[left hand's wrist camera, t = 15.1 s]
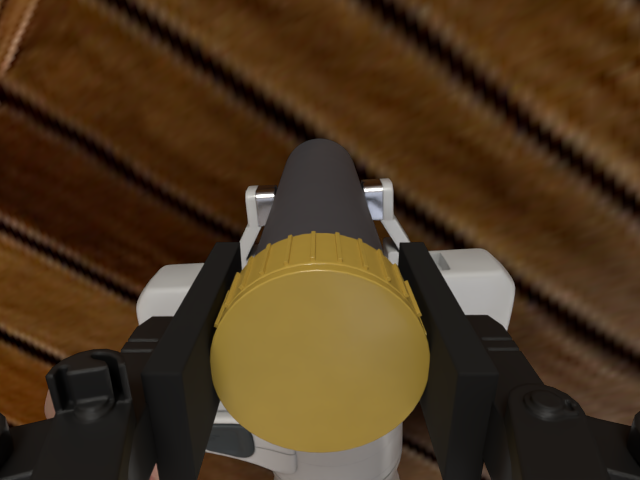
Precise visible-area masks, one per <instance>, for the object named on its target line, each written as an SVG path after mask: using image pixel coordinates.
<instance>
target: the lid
mask: <svg viewBox="0 0 640 480" xmlns="http://www.w3.org/2000/svg"><path fill="white" fill-rule="evenodd" d="M420 316H422V314H421V312H420V309H419V307H418V304H417V302H416V300H415V297H414V295H413V292H412V290H411V287H410V285H409V283H408V280H406V281H404V280H403V278H402V276H401V273H400V270H399V268H398V265H397V264H396V263H395V264H392V263H391V262H390V261H389V260H388V259H387V258H386V257H385V256H384V255H383V253H382V250H380V249H378V250H376V249H374V248H373V247H371V246H369V245H368V244H366V243H363V242H362V239H360V238H358V240H356V239H353V238H350V237H346V236H343V235H340V233H338V232H335V234H330V233H316V231H311V234H302V235H298V236H292V235H289V236H288V238H287V239H284V240H281V241H278V242H276V243H275V244H273V245H271V244H270V243H269V244H267V246H266V248H265V249H264V250H263V251H261V252H260V253H258V254H257V255H256V256H255V257H254V258H253V257H252V256H251V257H250V258H249V260H248V262H247V265H246V266H245V267H244V268H243V270H242V271H241V272H240V273H239V272H237V273H236V275H235V277H234V280H233V282H232V285H231V287H230V290H228V292H227V294H226V297H225V299H224V302H223V304H222V307H221V309H220V312H219V314H218V317H217V319H216V321H215V324H214V327H216V331H215V333H214V336H213V340H212V344H211V348H210V366H211V376H212V382H213V385H214V388H215V390H216V393H217V395H218V397H219V399H220V401H221V402H222V404H223V406H224V407H225V408H226V410H227V411H228V412H229V414H230V415H231V416H232V417H233V418H234V419H235V420H236V421H237V422H238V423H239V424H240V425H241V426H243V427H244V428H245V429H246V430H248V431H249V432H251V433H252V434H254V435H256V436H257V437H259V438H261V439H263V440H265V441H267V442H269V443H271V444H274V445H277V446H280V447H283V448H287V449H291V450H295V451H302V452H310V453H328V452H338V451H344V450H349V449H353V448H356V447H360V446H363V445H366V444H368V443H370V442H373V441H375V440H377V439H379V438H381V437H383V436H384V435H386V434H387V433H389V432H390V431H392V430H393V429H395V428H396V427H397V426H398V425H399V424H401V423H402V422H403V421H404V420H405V419H406V418H407V417H408V416H409V414H410V413H411V412H412V411H413V410H414V408H415V407H416V405H417V404H418V402H419V401H420V399H421V396H422V394H423V392H424V390H425V387H426V384H427V381H428V372H429V363H430V350H429V344H428V340H427V337H426V334H427V333H426V331H425V328H424V326H423V323H422V321H421V318H420Z"/></svg>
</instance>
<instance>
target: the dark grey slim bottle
mask: <svg viewBox="0 0 640 480" xmlns="http://www.w3.org/2000/svg"><path fill="white" fill-rule="evenodd" d="M311 231H316V233H330V234H335V232H338V233H340V235H343V236H346V237H350V238H353V239H356V240H358V238H360V239H362V242H363V243H366V244H368V245H369V246H371V247H373V248H374V249H376V250H378V249H380V250H382V253H383V255H384V256H385V254H384V251H383V248H382V246H381V243H380V240H379V237H378V234H377V231H376V228H375V225H374V222H373V219H372V216H371V213H370V210H369V207H368V205H367V202H366V199H365V196H364V193H363V190H362V187H361V184H360V181H359V178H358V175H357V172H356V169H355V166H354V164H353V161H352V158H351V157H350V155H349V153H348V152H347V151H346V150H345V149H344V148H343V147H342V146H341V145H339V144H338V143H336V142H333V141H331V140H327V139H312V140H309V141H306V142H304V143H302V144H300V145H299V146H298V147H296V148H295V149H294V150H293V152H292V153H291V154H290V156H289V158H288V160H287V162H286V165H285V168H284V171H283V174H282V177H281V180H280V183H279V186H278V189H277V192H276V195H275V198H274V201H273V203H272V206H271V209H270V212H269V215H268V218H267V221H266V224H265V227H264V230H263V233H262V236H261V239H260V242H259V245H258V248H257V251H256V254H255V256H256V255H257V254H258V253H260V252H261V251H263V250H264V249H265V248H266V246H267V244H269V243H270V244H271V245H273V244H275V243H276V242H278V241H281V240H284V239H287V238H288V236H289V235H292V236H298V235H302V234H311Z"/></svg>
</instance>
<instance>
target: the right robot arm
mask: <svg viewBox="0 0 640 480" xmlns="http://www.w3.org/2000/svg"><path fill="white" fill-rule="evenodd" d="M361 187H362V190H363V193H364V196H365V199H366V202H367V205H368V207H369V210H370V213H371V216H372V219H373V220H381V222H382V224H383V225H384V227H385V229H386V230H387V232H388V233H389V235H390V236H391V237H385V238H384V239H383V251H384V254H385V257H386V258H387V259H388V260H389V261H390V262H391V263H392V264H395V263H396V264H397V265H398V258H399V244H400V242H410V240H409V238H408V236H407V234H406V233H405V231H404V230H403V228H402V226H401V225H400V223H399V222H398V220H397V218H396V217H395V215H394V213H393V186H392V182H391V181H390V179H389V178H385V179H369V180H361ZM276 192H277V185H265V186H249V187H248V189H247V191H246V208H247V217H248V225H247V227H246V229H245V231H244V233H243V236H242V238H241V240H240V248H241V262H242V270H243V268H244V267H245V266H246V265H247V262H248V260H249V258H250V257H251V256H252V257H253V258H254V257H255V254H256V251H257V248H258V245H259V244H254V241H255V239H256V237H257V235H258V233H259V231H260V229H261V226H265V224H266V221H267V218H268V215H269V212H270V209H271V206H272V203H273V201H274V198H275V195H276ZM253 244H254V245H253ZM429 253H430V255H431V257H432V258H433V260H434V262H435V264H436V265H437V267H438V269H439V270H440V272H441V274H442V276H443V277H444V279H445V281H446V283H447V284H448V286H449V288H450V289H451V291H452V293H453V295H454V296H455V298H456V300H457V302H458V303H459V305H460V307H461V308H462V310H463V312H464V314H465V315H489V316H490V317H491V318H493V319H494V320H496V321H497V322H499V323H500V324H501V325H503V326H504V328H505V329H506V331H507V329H508V325H509V322H510V317H511V313H512V308H513V302H514V296H515V285H514V282H513V279H512V277H511V276H510V275H509V273H508V272H507V270H506V269H505V268H504V267H503V265H502V264H501V263H500V262H499V261H498V260H497V259H495V258H494V257H493V256H492V255H491V254H490V253H489V252H488V251H486V250H484V249H458V250H440V251H429ZM203 265H204V263H195V264H175V265H166V266H164V267H162V268H161V269H160V270H159V271H158V272H157V273H156V274H155V275H154V277H153V278H152V279H151V280H150V281H149V282H148V284H147V285H146V287H145V288H144V290H143V291H142V293H141V295H140V297H139V299H138V302H137V307H136V310H137V318H138V323H139V325H141V324H142V323H143V322H145V321H146V320H148V319H149V318H151V317H152V316H174V315H175V313H176V311H177V310H178V308H179V306H180V304H181V303H182V301H183V299H184V298H185V296H186V294H187V292H188V291H189V289H190V287H191V285H192V284H193V282H194V280H195V279H196V277H197V275H198V273H199V272H200V270H201V268H202V267H203ZM402 424H403V422H402V423H401V424H399V425H398V426H397V427H396V428H395V429H393V430H392V431H390V432H389V433H387V434H386V435H384V436H383V437H381V438H379V439H377V440H375V441H373V442H370V443H368V444H366V445H363V446H360V447H356V448H353V449H349V450H344V451H338V452H328V453H310V452H302V451H295V450H291V449H287V448H283V447H280V446H277V445H274V444H271V443H269V442H267V441H265V440H263V439H261V438H259V437H257V436H256V435H254V434H252V433H251V432H249V431H248V430H246V429H245V428H244V427H243V426H241V425H240V424H239V423H238V422H237V421H236V420H235V419H234V418H233V417H232V416H231V415H230V414H229V412H228V411H227V410H226V408H225V407H224V406H223V404H222V402H221V401H220V403H219V407H218V410H217V414H216V417H215V420H214V424H213V427H212V430H211V434H210V437H209V441H208V444H207V447H206V451H205V452H208V453H213V454H218V455H223V456H227V457H231V458H236V459H239V460H243V461H247V462H250V463H253V464H256V465H259V466H262V467H264V468H267V469H270V470H272V471H273V473H274V476H275V477H274V480H400V478H399V474H398V472H397V468H398V465H399V462H400V458H401V453H402Z"/></svg>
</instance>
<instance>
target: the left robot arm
mask: <svg viewBox="0 0 640 480" xmlns="http://www.w3.org/2000/svg"><path fill="white" fill-rule="evenodd" d="M398 268H399V270H400V273H401V276H402V278H403V280H404V281H406V280H408V283H409V285H410V287H411V290H412V292H413V295H414V297H415V300H416V302H417V304H418V307H419V309H420V312H421V314H422V316H420V318H421V321H422V323H423V326H424V328H425V331H426V333H427V334H426V337H427V340H428V344H429V350H430V363H429V372H428V381H427V384H426V387H425V390H424V392H423V394H422V396H421V399H420V404H421V408H422V411H423V414H424V418H425V421H426V425H427V428H428V431H429V435H430V438H431V442H432V445H433V448H434V452H435V455H436V458H437V462H438V465H439V469H440V472H441V475H442V479H443V480H481V474H482V469H483V463H485V465H486V468H487V470H488V472H489V475H490V477H491V480H640V411H639V412H638V413H637V414H636V415H635V417H634V420H633V423H632V426H628V425H623V424H619V423H614V422H610V421H605V420H601V419H597V418H593V417H590V416H586V415H585V413H584V411H583V410H582V408H581V407H580V405H579V404H578V403H577V402H576V401H575V400H574V399H572V398H571V397H570V396H569V395H567V394H566V393H564V392H562V391H560V390H558V389H556V388H554V387H550V386H546V385H544V383H543V382H542V381H541V379H540V378H539V376H538V375H537V373H536V372H535V371H534V369H533V368H532V366H531V365H530V363H529V362H528V361H527V359H526V358H525V356H524V355H523V353H522V352H521V351H519V348H518V346H517V345H516V343H515V342H514V341H512V338H511V336H510V335H509V333H508V332H507V331H506V329H505V328H504V326H503V325H501V324H500V323H499V322H497V321H496V320H494V319H493V318H491V317H490V316H489V315H465V314H464V312H463V310H462V308H461V307H460V305H459V303H458V302H457V300H456V298H455V296H454V295H453V293H452V291H451V289H450V288H449V286H448V284H447V283H446V281H445V279H444V277H443V276H442V274H441V272H440V270H439V269H438V267H437V265H436V264H435V262H434V260H433V258H432V257H431V255H430V253H429V251H428V250H427V248H426V246H425V245H424V243H423V242H400V244H399V258H398ZM241 271H242V262H241V248H240V242H216V244H215V246H214V248H213V249H212V251H211V253H210V254H209V256H208V258H207V260H206V261H205V263H204V265H203V267H202V268H201V270H200V272H199V273H198V275H197V277H196V279H195V280H194V282H193V284H192V285H191V287H190V289H189V291H188V292H187V294H186V296H185V298H184V299H183V301H182V303H181V304H180V306H179V308H178V310H177V311H176V313H175V315H174V316H152V317H151V318H149V319H148V320H146V321H145V322H143V323H142V324H141V325H139V326H138V327H137V328H136V329H135V331H134V332H133V333H132V335H131V336H130V338H129V339H128V342H126V344H125V345H124V346H123V348H122V349H121V353H119V352H118V351H113V350H109V349H93V350H89V351H85V352H80V353H77V354H75V355H73V356H70V357H68V358H66V359H64V360H62V361H61V362H59V363H58V364H57V365H55V366H54V367H52V369H51V370H50V371H49V372H48V374H47V375H46V376H45V377H46V381H47V384H48V388H49V392H50V395H51V399H52V403H53V406H54V410H55V416H54V417H53V418H50V419H46V420H43V421H38V422H34V423H29V424H25V425H20V426H16V427H11V428H9V427H8V424H7V421H6V418H5V416H3V415H2V414H1V413H0V480H149V479H150V476H151V474H152V472H153V469H154V467H155V464H156V465H157V470H158V476H159V480H197V478H198V474H199V471H200V468H201V464H202V461H203V458H204V454H205V451H206V447H207V444H208V441H209V437H210V434H211V430H212V427H213V424H214V420H215V417H216V414H217V410H218V407H219V403H220V399H219V397H218V395H217V393H216V390H215V388H214V385H213V382H212V376H211V366H210V348H211V344H212V340H213V336H214V333H215V331H216V327H214V324H215V321H216V319H217V317H218V314H219V312H220V309H221V307H222V304H223V302H224V299H225V297H226V294H227V292H228V290H230V287H231V285H232V282H233V280H234V277H235V275H236V273H237V272H239V273H240V272H241Z"/></svg>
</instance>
